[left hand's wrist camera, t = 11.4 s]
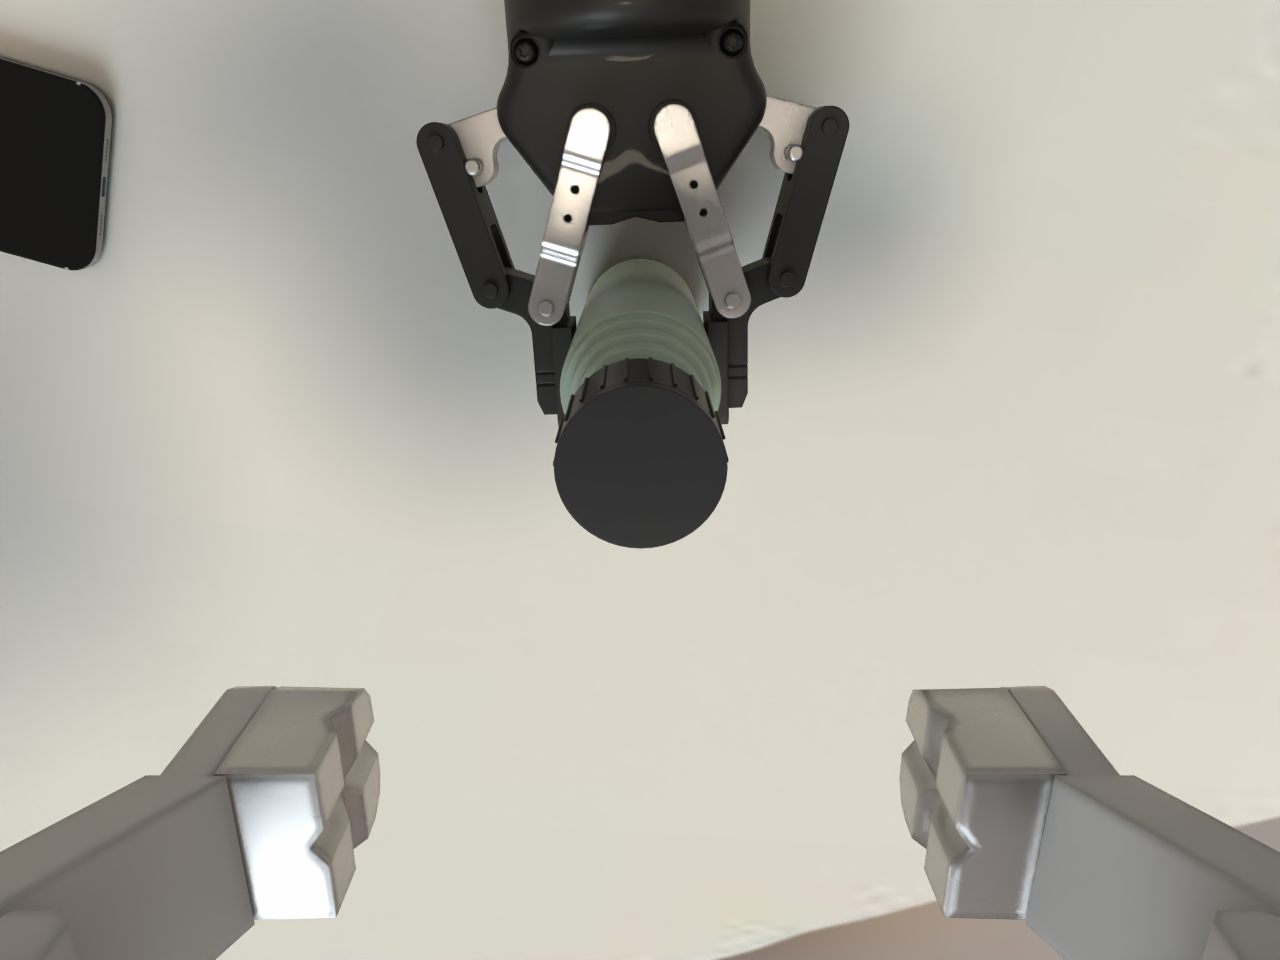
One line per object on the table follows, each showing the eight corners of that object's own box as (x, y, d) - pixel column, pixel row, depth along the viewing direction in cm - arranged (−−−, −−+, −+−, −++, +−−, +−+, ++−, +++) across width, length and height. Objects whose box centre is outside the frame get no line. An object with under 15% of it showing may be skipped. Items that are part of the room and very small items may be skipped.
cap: (694, 522, 22) (701, 568, 20) (545, 485, 22) (533, 527, 19) (739, 379, 21) (753, 409, 19) (582, 337, 21) (574, 362, 18)
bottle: (678, 380, 38) (711, 579, 20) (574, 352, 38) (515, 532, 20) (708, 275, 37) (773, 391, 19) (600, 245, 36) (562, 335, 18)
